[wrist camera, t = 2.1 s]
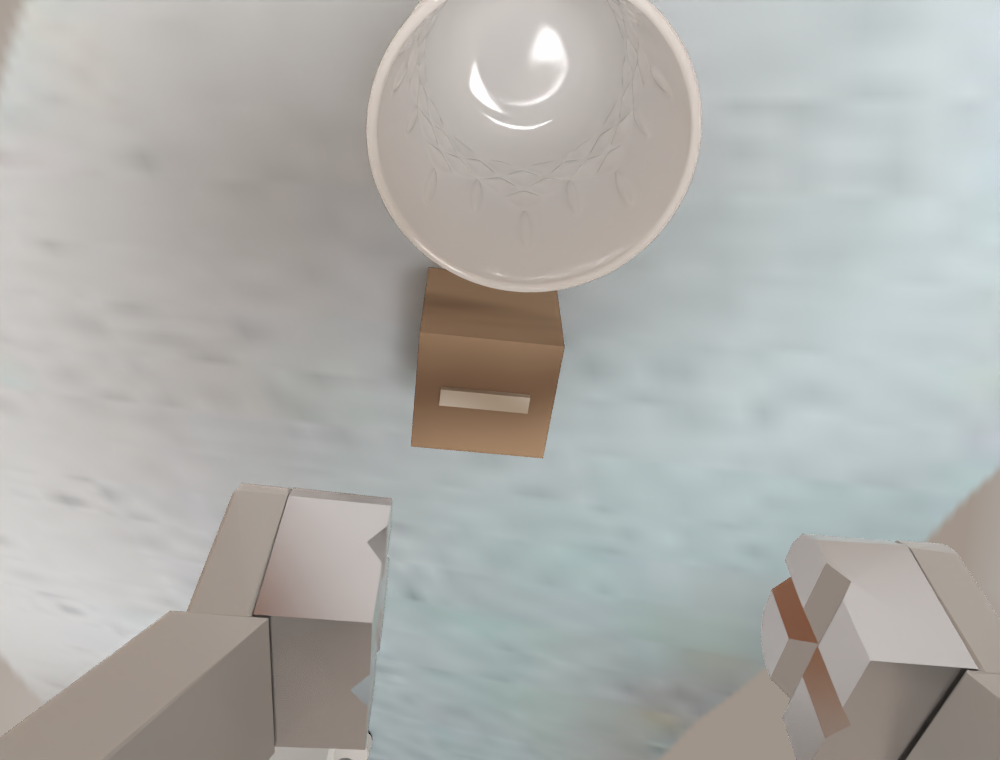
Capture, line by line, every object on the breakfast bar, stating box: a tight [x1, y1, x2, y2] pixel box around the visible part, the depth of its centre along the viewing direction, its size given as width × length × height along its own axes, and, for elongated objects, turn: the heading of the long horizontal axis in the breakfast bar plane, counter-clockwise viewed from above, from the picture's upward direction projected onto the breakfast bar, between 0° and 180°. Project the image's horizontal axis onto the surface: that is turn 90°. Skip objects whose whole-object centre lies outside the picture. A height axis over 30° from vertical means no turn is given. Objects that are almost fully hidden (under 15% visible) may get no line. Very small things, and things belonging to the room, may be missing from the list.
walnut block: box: [411, 267, 565, 458], centre depth 32 cm, size 5×5×5 cm
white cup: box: [366, 0, 702, 292], centre depth 24 cm, size 8×8×10 cm
